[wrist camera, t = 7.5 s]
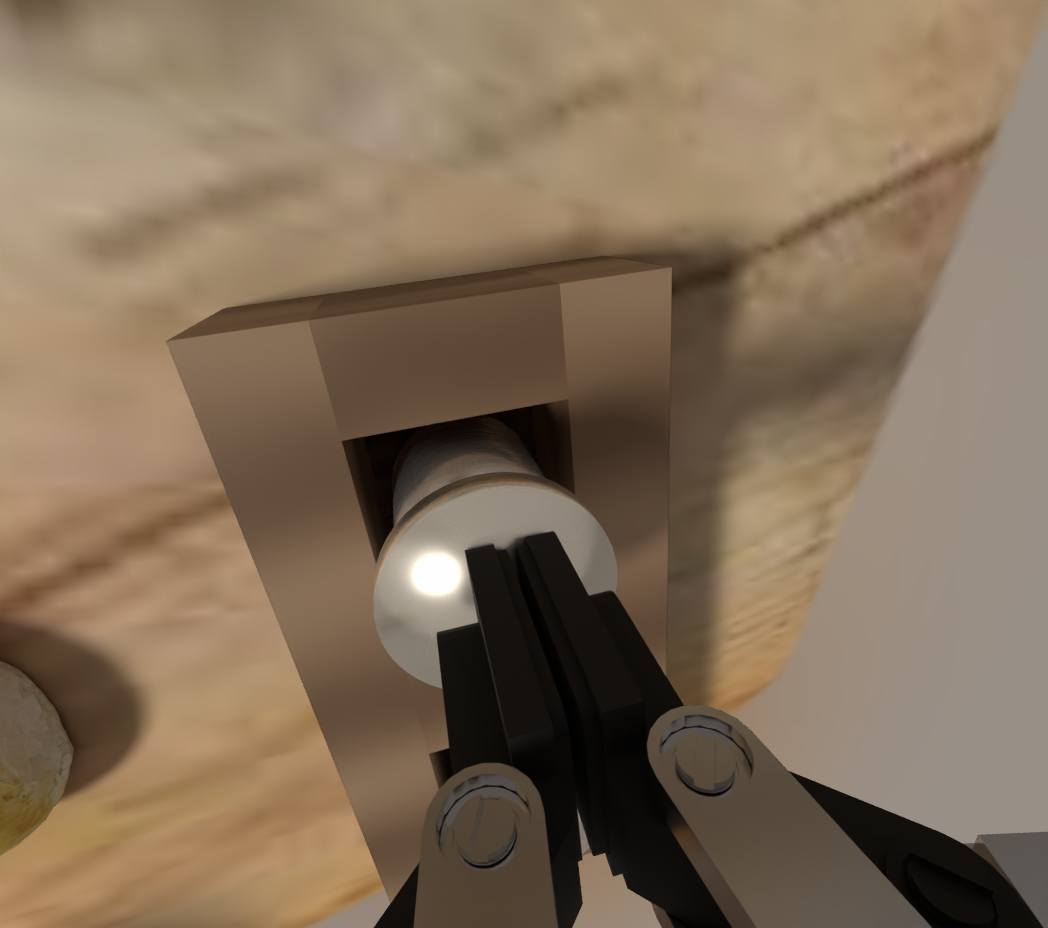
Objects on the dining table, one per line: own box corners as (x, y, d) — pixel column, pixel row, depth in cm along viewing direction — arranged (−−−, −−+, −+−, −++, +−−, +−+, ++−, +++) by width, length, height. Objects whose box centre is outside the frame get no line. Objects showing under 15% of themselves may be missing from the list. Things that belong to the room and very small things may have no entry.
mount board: (223, 308, 13) (166, 341, 10) (603, 255, 15) (671, 267, 11) (393, 805, 22) (396, 917, 18) (621, 737, 24) (664, 827, 20)
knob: (357, 416, 13) (343, 521, 9) (537, 384, 14) (613, 465, 9) (396, 567, 15) (402, 718, 11) (552, 532, 16) (620, 659, 11)
